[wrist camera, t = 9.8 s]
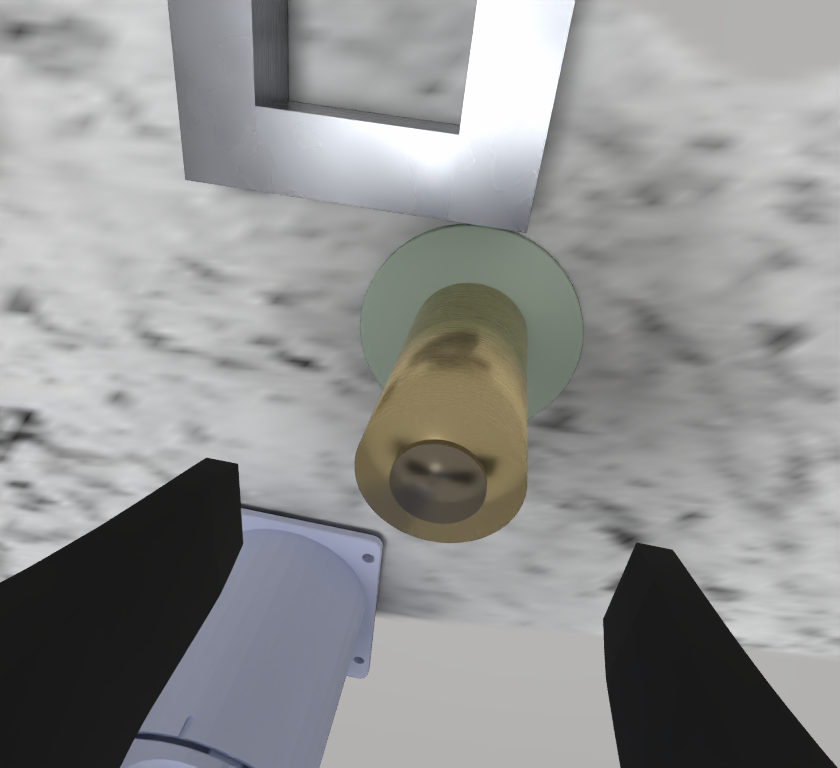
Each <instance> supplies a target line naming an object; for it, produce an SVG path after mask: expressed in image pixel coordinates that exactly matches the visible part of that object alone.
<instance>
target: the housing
mask: <svg viewBox="0 0 840 768" xmlns="http://www.w3.org/2000/svg"><path fill="white" fill-rule="evenodd" d="M574 4H575V0H477V7H476V14H475V22H474V29H473V36H472V44H471V51H470V58H469V66H468V73H467V80H466V88H465V95H464V102H463V110H462V117H461V124H460V125H455V124H448V123H441V122H434V121H427V120H420V119H413V118H406V117H398V116H391V115H384V114H377V113H370V112H363V111H356V110H349V109H342V108H335V107H328V106H320V105H313V104H306V103H299V102H292V101H288V17H287V0H168V10H169V20H170V30H171V40H172V50H173V60H174V70H175V80H176V90H177V100H178V110H179V120H180V131H181V141H182V151H183V161H184V171H185V180H190V181H196V182H203V183H209V184H216V185H222V186H228V187H235V188H241V189H248V190H254V191H260V192H267V193H273V194H280V195H286V196H293V197H299V198H305V199H312V200H318V201H325V202H331V203H338V204H344V205H350V206H357V207H363V208H370V209H376V210H383V211H389V212H395V213H402V214H408V215H415V216H421V217H427V218H434V219H440V220H447V221H453V222H460V223H466V224H472V225H479V226H485V227H492V228H498V229H505V230H511V231H517V232H524V233H526V232H527V227H528V222H529V218H530V213H531V208H532V203H533V199H534V194H535V189H536V184H537V180H538V175H539V170H540V165H541V161H542V156H543V151H544V146H545V142H546V137H547V132H548V127H549V123H550V118H551V113H552V108H553V104H554V99H555V94H556V89H557V85H558V80H559V75H560V70H561V66H562V61H563V56H564V51H565V47H566V42H567V37H568V32H569V28H570V23H571V18H572V13H573V9H574Z"/></svg>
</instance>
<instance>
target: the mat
mask: <svg viewBox="0 0 840 768" xmlns="http://www.w3.org/2000/svg"><path fill="white" fill-rule="evenodd" d="M459 283H478V284H483V285H487V286H490V287H492V288H495V289H497V290H499V291H500V292H502V293H503V294H505V295H506V296H508V297H509V298H510V299H511V300H512V301H513V302H514V303H515V305H516V306H517V307H518V308H519V310H520V312H521V313H522V315H523V318H524V320H525V323H526V327H527V419H528V418H530V417H532V416H533V415H535V414H537V413H538V412H540V411H541V410H543V409H544V408H545V407H546V406H548V405H549V404H550V403H551V402H552V401H553V400H554V399H555V398H556V397H557V396H558V395H559V394H560V393H561V392H562V391H563V389H564V388H565V386H566V385H567V384H568V382H569V381H570V379H571V377H572V375H573V373H574V371H575V369H576V366H577V364H578V361H579V358H580V354H581V349H582V343H583V322H582V315H581V310H580V306H579V302H578V298H577V296H576V293H575V291H574V288H573V286H572V284H571V282H570V280H569V279H568V277H567V275H566V273H565V272H564V271H563V269H562V268H561V267H560V266H559V264H558V263H557V262H556V261H555V260H554V259H553V258H552V257H551V256H550V255H549V254H548V253H547V252H546V251H545V250H544V249H542V248H541V247H539V246H538V245H537V244H535V243H534V242H532V241H531V240H529V239H527V238H525V237H523V236H521V235H519V234H517V233H514V232H512V231H509V230H505V229H498V228H492V227H485V226H479V225H472V224H456V225H450V226H445V227H440V228H437V229H434V230H431V231H428V232H425V233H423V234H421V235H419V236H417V237H415V238H413V239H411V240H410V241H408V242H407V243H405V244H404V245H402V246H401V247H400V248H399V249H398V250H396V251H395V252H394V253H393V254H392V255H391V256H390V257H389V258H388V259H387V260H386V262H385V263H384V264H383V265H382V266H381V268H380V269H379V270H378V272H377V274H376V275H375V277H374V278H373V280H372V282H371V284H370V286H369V288H368V290H367V293H366V295H365V299H364V302H363V306H362V311H361V319H360V334H361V341H362V347H363V350H364V354H365V357H366V360H367V362H368V365H369V367H370V369H371V371H372V373H373V375H374V376H375V378H376V380H377V381H378V383H379V384H380V385H381V386H382V388H383V389H384V387H385V385H386V383H387V380H388V378H389V376H390V374H391V371H392V369H393V367H394V365H395V362H396V360H397V358H398V356H399V353H400V351H401V349H402V347H403V344H404V342H405V340H406V338H407V335H408V333H409V331H410V329H411V326H412V324H413V322H414V320H415V318H416V315H417V313H418V311H419V309H420V308H421V306H422V305H423V303H424V302H425V301H426V300H427V299H428V298H429V297H430V296H431V295H433V294H434V293H435V292H437V291H439V290H440V289H443V288H445V287H447V286H450V285H454V284H459Z"/></svg>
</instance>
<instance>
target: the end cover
mask: <svg viewBox="0 0 840 768" xmlns="http://www.w3.org/2000/svg"><path fill="white" fill-rule="evenodd" d="M355 475H356V481H357V484H358V487H359V489H360V491H361V493H362V495H363V497H364V499H365V500H366V502H367V503H368V505H369V506H370V507H371V508H372V509H373V510H374V512H375V513H377V514H378V515H379V516H380V517H381V518H382V519H383V520H385V521H386V522H387V523H389V524H390V525H392V526H393V527H395V528H397V529H398V530H400V531H402V532H404V533H407V534H409V535H411V536H414V537H417V538H420V539H424V540H428V541H434V542H443V543H460V542H467V541H473V540H477V539H480V538H483V537H486V536H488V535H491V534H493V533H494V532H496V531H498V530H500V529H501V528H502V527H504V526H505V525H506V524H508V523H509V522H510V521H511V520H512V519H513V518H514V516H515V515H516V514H517V513H518V511H519V509H520V508H521V506H522V504H523V501H524V499H525V496H526V490H527V327H526V323H525V320H524V318H523V315H522V313H521V312H520V310H519V308H518V307H517V306H516V305H515V303H514V302H513V301H512V300H511V299H510V298H509V297H508V296H506V295H505V294H503V293H502V292H500V291H499V290H497V289H495V288H492V287H490V286H487V285H483V284H478V283H459V284H454V285H450V286H447V287H445V288H443V289H440V290H439V291H437V292H435V293H434V294H433V295H431V296H430V297H429V298H428V299H427V300H426V301H425V302H424V303H423V305H422V306H421V308H420V309H419V311H418V313H417V315H416V318H415V320H414V322H413V324H412V326H411V329H410V331H409V333H408V335H407V338H406V340H405V342H404V344H403V347H402V349H401V351H400V353H399V356H398V358H397V360H396V362H395V365H394V367H393V369H392V371H391V374H390V376H389V378H388V380H387V383H386V385H385V387H384V389H383V392H382V394H381V396H380V398H379V401H378V403H377V405H376V407H375V410H374V412H373V414H372V416H371V419H370V421H369V423H368V425H367V428H366V430H365V432H364V434H363V437H362V439H361V441H360V443H359V446H358V449H357V452H356V456H355Z"/></svg>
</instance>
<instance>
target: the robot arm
mask: <svg viewBox="0 0 840 768" xmlns="http://www.w3.org/2000/svg"><path fill="white" fill-rule="evenodd" d="M382 549H383V544H382V541H381V540H380V539H379V538H378V537H376V536H374V535H370V534H365V533H360V532H355V531H350V530H346V529H341V528H336V527H331V526H326V525H321V524H316V523H311V522H307V521H302V520H297V519H292V518H287V517H282V516H277V515H273V514H268V513H263V512H258V511H253V510H248V509H243V508H241V501H240V486H239V472H238V464H236V463H231V462H226V461H221V460H216V459H211V458H205V459H204V460H202V461H200V462H199V463H197V464H196V465H194V466H192V467H191V468H189V469H188V470H186V471H185V472H183V473H182V474H180V475H179V476H177V477H176V478H174V479H173V480H171V481H169V482H168V483H166V484H165V485H163V486H162V487H160V488H159V489H157V490H156V491H154V492H153V493H151V494H150V495H148V496H146V497H145V498H143V499H142V500H140V501H139V502H137V503H136V504H134V505H132V506H131V507H129V508H128V509H126V510H125V511H123V512H121V513H120V514H118V515H117V516H115V517H113V518H112V519H110V520H109V521H107V522H106V523H104V524H102V525H101V526H99V527H98V528H96V529H94V530H93V531H91V532H89V533H87V534H86V535H84V536H82V537H80V538H79V539H77V540H75V541H74V542H72V543H70V544H68V545H67V546H65V547H63V548H62V549H60V550H58V551H56V552H55V553H53V554H51V555H50V556H48V557H46V558H44V559H43V560H41V561H39V562H37V563H36V564H34V565H32V566H30V567H29V568H27V569H25V570H23V571H21V572H19V573H17V574H16V575H14V576H12V577H10V578H8V579H6V580H4V581H2V582H0V768H319V766H320V764H321V760H322V757H323V753H324V750H325V746H326V743H327V740H328V736H329V733H330V729H331V726H332V722H333V719H334V716H335V712H336V709H337V706H338V702H339V698H340V695H341V692H342V688H343V684H344V682H345V678H346V676H351V677H355V678H365V677H366V676H367V675H368V672H369V667H370V658H371V648H372V640H373V630H374V621H375V612H376V603H377V594H378V585H379V576H380V567H381V558H382ZM367 554H370V555H372V556H370V555H367ZM603 627H604V653H605V670H606V682H607V688H608V695H609V701H610V707H611V713H612V720H613V726H614V732H615V738H616V744H617V749H618V755H619V761H620V767H621V768H837V767H836V765H835V764H834V763H833V762H832V761H831V760H830V759H829V757H828V756H827V755H826V754H825V753H824V751H823V750H822V749H821V748H820V747H819V745H818V744H817V743H816V742H815V740H814V739H813V738H812V737H811V736H810V734H809V733H808V732H807V731H806V729H805V728H804V727H803V726H802V724H801V723H800V722H799V721H798V720H797V718H796V717H795V716H794V715H793V713H792V712H791V711H790V710H789V709H788V707H787V706H786V705H785V704H784V702H783V701H782V700H781V698H780V697H779V696H778V695H777V693H776V692H775V691H774V689H773V688H772V687H771V686H770V684H769V683H768V682H767V681H766V679H765V678H764V676H763V675H762V674H761V673H760V671H759V670H758V669H757V667H756V666H755V665H754V663H753V662H752V661H751V659H750V658H749V656H748V655H747V654H746V652H745V651H744V650H743V648H742V647H741V646H740V644H739V643H738V642H737V640H736V639H735V637H734V636H733V635H732V633H731V632H730V630H729V629H728V628H727V626H726V625H725V624H724V622H723V621H722V619H721V618H720V616H719V615H718V614H717V612H716V611H715V609H714V608H713V607H712V605H711V604H710V602H709V601H708V599H707V598H706V597H705V595H704V594H703V592H702V591H701V589H700V588H699V587H698V585H697V584H696V582H695V581H694V579H693V578H692V577H691V575H690V574H689V572H688V571H687V569H686V568H685V566H684V565H683V564H682V562H681V561H680V559H679V558H678V557H677V555H676V554H675V552H674V551H673V550H671V549H666V548H661V547H656V546H651V545H646V544H641V543H636V545H635V547H634V549H633V552H632V554H631V556H630V559H629V561H628V563H627V566H626V568H625V570H624V572H623V575H622V577H621V579H620V582H619V584H618V586H617V589H616V591H615V593H614V595H613V598H612V600H611V602H610V605H609V607H608V609H607V612H606V614H605V616H604V618H603Z"/></svg>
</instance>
